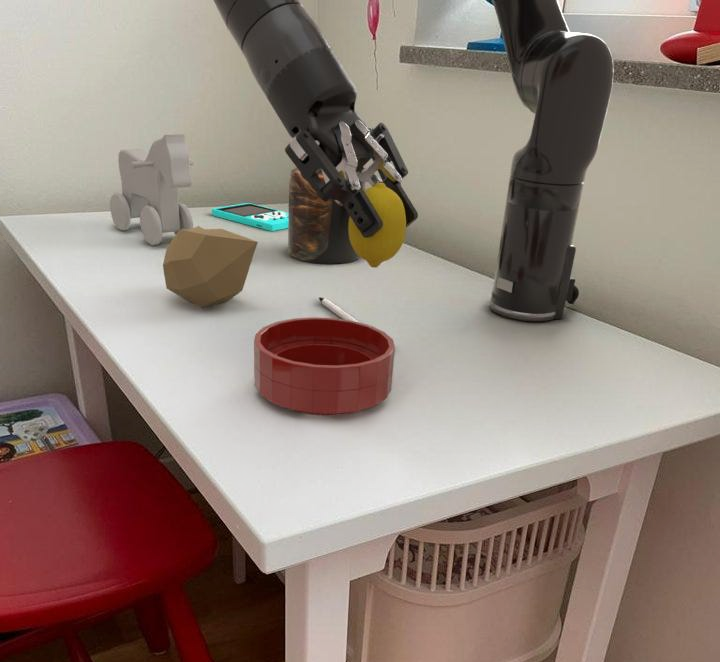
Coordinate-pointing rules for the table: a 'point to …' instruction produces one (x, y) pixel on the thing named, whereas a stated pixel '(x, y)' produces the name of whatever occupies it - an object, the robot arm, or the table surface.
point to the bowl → (323, 365)
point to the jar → (317, 224)
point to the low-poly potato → (207, 265)
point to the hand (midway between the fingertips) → (392, 227)
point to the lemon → (389, 235)
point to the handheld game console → (254, 216)
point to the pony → (154, 188)
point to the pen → (336, 310)
